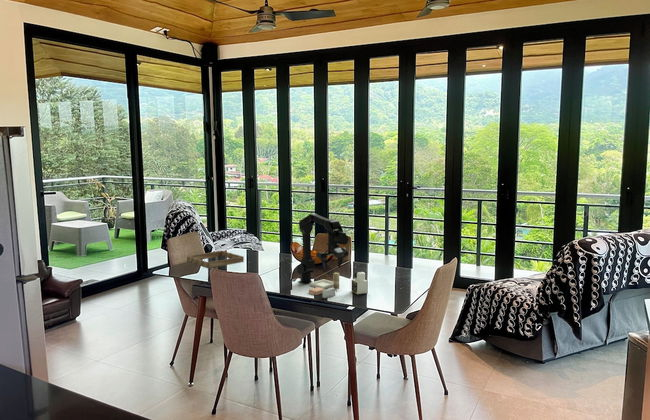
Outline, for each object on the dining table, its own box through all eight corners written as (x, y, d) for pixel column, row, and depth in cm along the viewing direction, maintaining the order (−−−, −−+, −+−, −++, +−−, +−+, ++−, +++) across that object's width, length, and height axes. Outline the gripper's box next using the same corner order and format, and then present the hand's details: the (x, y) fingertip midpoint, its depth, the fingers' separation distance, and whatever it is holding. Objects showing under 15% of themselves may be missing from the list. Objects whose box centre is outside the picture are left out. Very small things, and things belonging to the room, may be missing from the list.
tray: (309, 285, 301) (309, 282, 301) (323, 282, 309) (323, 279, 309) (323, 289, 293) (323, 286, 293) (337, 285, 301) (337, 282, 301)
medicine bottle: (351, 291, 290) (351, 271, 289) (362, 289, 293) (362, 269, 291) (356, 294, 284) (357, 273, 282) (367, 292, 286) (368, 272, 285)
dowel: (332, 288, 296) (332, 273, 295) (336, 287, 299) (336, 272, 297) (336, 289, 294) (336, 274, 293) (340, 288, 296) (340, 273, 295)
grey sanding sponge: (322, 297, 277) (322, 290, 277) (332, 294, 283) (332, 287, 282) (325, 298, 276) (325, 291, 275) (335, 295, 281) (335, 288, 281)
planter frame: (187, 261, 365) (186, 256, 364) (221, 255, 385) (221, 250, 384) (208, 268, 344) (208, 262, 343) (243, 261, 364) (243, 256, 364)
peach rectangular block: (308, 293, 286) (308, 289, 286) (317, 291, 291) (317, 287, 291) (315, 295, 282) (315, 291, 282) (324, 293, 287) (324, 289, 287)
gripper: (326, 246, 274) (325, 273, 276) (354, 242, 283) (353, 269, 285) (316, 242, 283) (315, 269, 285) (343, 239, 293) (343, 265, 295)
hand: (332, 268), depth 288 cm, fingers open, 9 cm apart
